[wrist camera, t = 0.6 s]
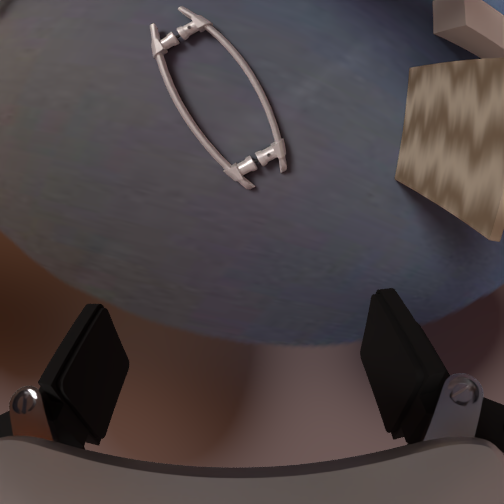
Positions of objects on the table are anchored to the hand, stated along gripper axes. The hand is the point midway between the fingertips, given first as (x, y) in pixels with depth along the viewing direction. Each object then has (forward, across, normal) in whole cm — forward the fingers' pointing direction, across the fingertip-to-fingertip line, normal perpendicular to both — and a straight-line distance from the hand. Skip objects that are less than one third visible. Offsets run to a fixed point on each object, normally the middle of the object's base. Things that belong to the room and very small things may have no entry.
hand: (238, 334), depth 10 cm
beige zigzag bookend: (+30, -30, -5) cm, 42 cm away
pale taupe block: (+30, -34, -22) cm, 50 cm away
